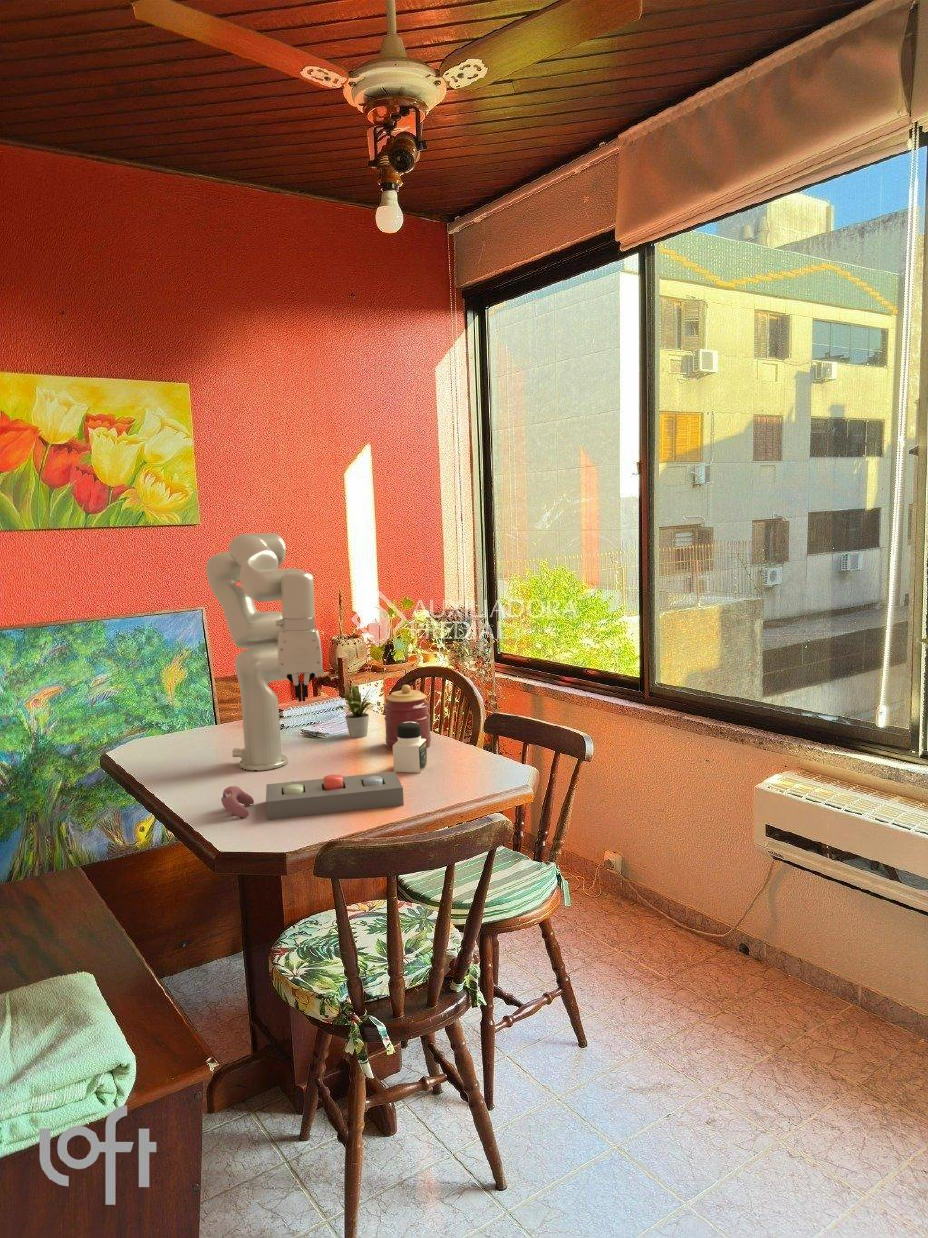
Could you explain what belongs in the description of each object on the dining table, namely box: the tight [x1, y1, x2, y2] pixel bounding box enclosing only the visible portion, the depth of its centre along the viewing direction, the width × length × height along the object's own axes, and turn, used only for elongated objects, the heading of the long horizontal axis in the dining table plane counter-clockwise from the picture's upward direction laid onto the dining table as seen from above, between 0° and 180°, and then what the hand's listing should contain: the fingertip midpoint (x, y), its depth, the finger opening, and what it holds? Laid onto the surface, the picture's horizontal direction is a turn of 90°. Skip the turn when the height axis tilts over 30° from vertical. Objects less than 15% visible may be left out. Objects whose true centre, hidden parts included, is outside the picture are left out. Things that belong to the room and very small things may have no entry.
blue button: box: [363, 776, 383, 786], centre depth 196 cm, size 4×4×3 cm
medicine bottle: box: [392, 722, 428, 774], centre depth 218 cm, size 7×7×12 cm
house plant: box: [333, 684, 377, 739], centre depth 255 cm, size 14×14×16 cm
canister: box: [383, 684, 432, 751], centre depth 241 cm, size 13×13×18 cm
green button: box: [283, 784, 304, 794], centre depth 192 cm, size 4×4×3 cm
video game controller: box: [220, 784, 255, 818], centre depth 190 cm, size 10×5×7 cm, turn 6°
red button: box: [322, 774, 344, 790], centre depth 193 cm, size 4×4×3 cm
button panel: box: [265, 771, 405, 820], centre depth 194 cm, size 30×13×4 cm, turn 102°
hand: (301, 700), depth 202 cm, fingers closed
